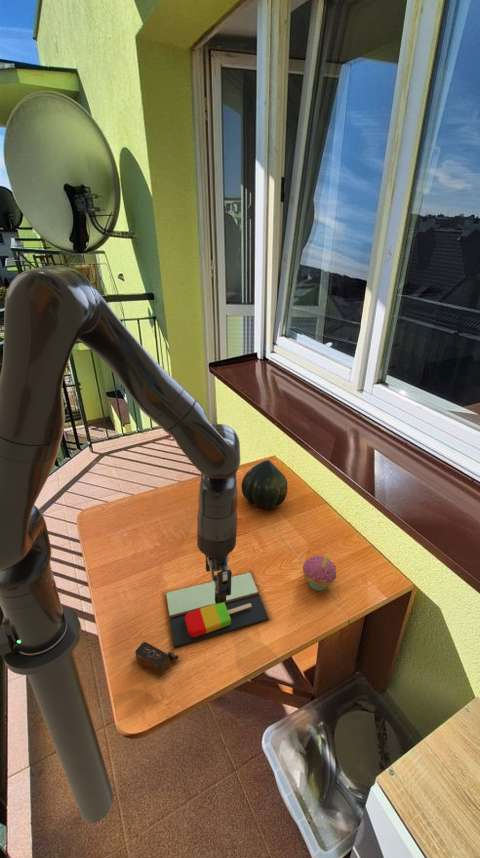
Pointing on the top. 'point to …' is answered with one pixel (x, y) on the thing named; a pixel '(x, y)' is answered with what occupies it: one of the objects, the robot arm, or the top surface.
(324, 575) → the cupcake
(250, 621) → the sorting mat
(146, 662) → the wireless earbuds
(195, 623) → the popsicle
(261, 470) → the squash
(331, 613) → the top surface
